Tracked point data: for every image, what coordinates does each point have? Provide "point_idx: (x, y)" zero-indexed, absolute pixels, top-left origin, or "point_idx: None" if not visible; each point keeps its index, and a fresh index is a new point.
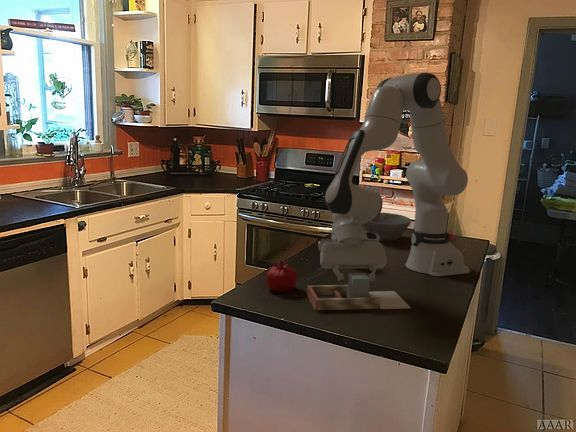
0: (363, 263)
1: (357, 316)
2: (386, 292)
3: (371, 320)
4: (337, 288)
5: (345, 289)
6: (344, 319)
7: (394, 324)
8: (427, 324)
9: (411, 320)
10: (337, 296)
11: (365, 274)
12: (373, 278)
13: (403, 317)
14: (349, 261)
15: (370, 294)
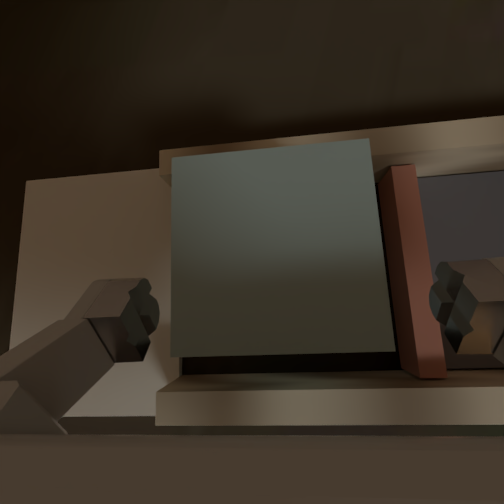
0: (122, 436)
1: (325, 84)
2: None
3: (267, 48)
4: (417, 382)
5: (346, 381)
6: (399, 48)
7: (176, 20)
8: (41, 32)
9: (88, 61)
10: (426, 256)
11: (180, 289)
12: (112, 279)
13: (108, 87)
14: (484, 486)
15: (170, 363)
